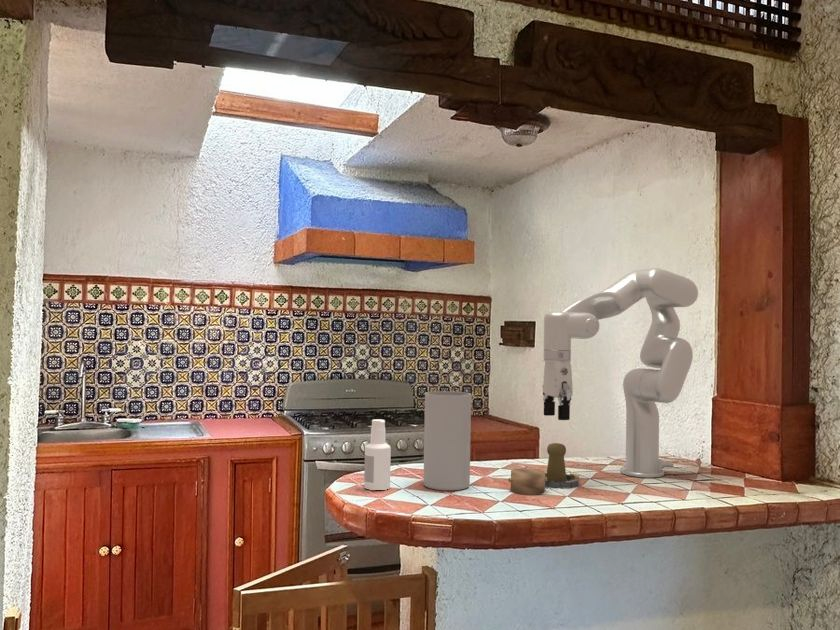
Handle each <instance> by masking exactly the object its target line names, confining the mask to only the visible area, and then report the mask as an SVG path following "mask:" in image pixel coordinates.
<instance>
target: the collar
mask: <svg viewBox="0 0 840 630" xmlns="http://www.w3.org/2000/svg"><path fill="white" fill-rule="evenodd" d="M546 473H547V472H545V477H546ZM566 479H567V481H549V480H547V481H545V488H550V487H551V488H552V489H572V488H577V487H579V486H580V475H578V474H577V473H575V472H574V473H569V474H567V473H566Z"/></svg>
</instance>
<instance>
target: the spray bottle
mask: <svg viewBox="0 0 840 630" xmlns="http://www.w3.org/2000/svg"><path fill="white" fill-rule="evenodd" d="M386 439H387V438H386V420H385V419H381V418H379V419H377V418H376V419H374V418H373V419H372V420H371V428H370V439H369V440H370V441H369V443H368V444H366V445H365V446H364V467H363V468H364V472H363V473H364V480H363V481H364V482H363V488H364V489H365V488H366V489H370V490H385V491H388V490H390V488H391V460H392V459H391V453H392V452H391V450H392V448H391V445H390V444H388V443H387V442H386ZM366 489H365V490H366ZM387 489H388V490H387ZM370 490H369V491H370Z"/></svg>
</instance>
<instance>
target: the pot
mask: <svg viewBox="0 0 840 630" xmlns="http://www.w3.org/2000/svg"><path fill="white" fill-rule="evenodd" d="M545 473H546V472H545V471H544V470H540V469H537V468H528V467H527V468H525V467H524V468H523V467H522V468H520V467H519V468H513V469H511V470H510V477H508V478H507V480H508V482H509V483H510V492H512V493H515V494H519V495H524V496H525V495H526V496H527V495H528V496H534V495H535V496H537V495H542V494H545V492H546V487H545V481H547V477H545Z"/></svg>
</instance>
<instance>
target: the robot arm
mask: <svg viewBox="0 0 840 630" xmlns="http://www.w3.org/2000/svg"><path fill="white" fill-rule="evenodd" d="M698 296H699V290H698V286H697V285H696V283H695V282H694V281H693V280H691V279H690V278H687V277H685V276H683V275H679V274H677V273H674V272H672V271H669V270H666V269H662V268H659V267H658V268H653V267H652V268H643V269H634V270H632V271H629V273H627V274H625V275H624V276H622V277H621V278H619V279H618V280H616V281H615V282H613V284H611V285H609V286H608V287H606V288H605V289H603V290H602V291H601V290H600V291H599V292H596V293H594V294H592V295H590V296H588V297H586V298H583V299H581V300H578V301H577V302H575V303H573V304H571V305H569V306H568V307H567V308H565V309H564V310H562V311H560V312H547V313H545V314H544V317H543V360H542V361H543V362H544V367H543V369H544V370H543V384H542V396H543V400H542V401H543V415H544V416H547V417H548V416H549V417H550V416H555V415H556V414H555V413H556V401H554V400H555V398H556V399H557V401H558V405H557V419H558V421H569V420H571V418H570V416H571V415H570V412H571V400H572V396H573V391H574V390H573V389H574V388H573V373H572V371H573V370H572V364H571V362H572V361H571V359H572V356H571V355H572V339H576V340H578V339H579V340H587V339H591V338H593V337H594V336H596V335H597V334H598V332H599V330H600V322H599V320H603V319H609V318H613V317H617V316H619V315H621V314H622V313H624V312H625V311H627V310H628V309H629V308H630V307H633V305H635V304H636V303H638V302H640V301H641V300H643V299H645V300H646V302H647V305H648V307H649V310H650V313H651V323H650V327H649V328H648V331H647V334H646V337H645V339H644V342H643V344H642V346H641V349H640V354H639V359H640V362H641V363H642V364H643V365H645V366H646V367H650V368H643V367H642V368H640V367H639V368H634V369H631V370H629V371H628V372H627V373H626V374H625V376H624V378H623V383H622V389H623V394H624V400H625V410H626V412H625V415H626V416H625V466H621V467H620V469H619V470H620V471H619V472H620V474H623V475H626V476H630V477H637V478H652V479H653V478H662V477H664V476H665V470H663V469H664V468H667V469H668V468H673V467H674V466H675V465H674V461H672V460H666V461H665V460H663V459H662V458H660V412H659V409H658V406H657V404H656V403H660V404H661V403H662V404H670V403H672V402H674V401H675V400H677V398H678V397H679V395H680V393H681V392H682V388H683V387H684V384H685V381H686V379H687V376H688V374H689V371H690V368H691V365H692V362H693V349H692V345H691V344H690V342H689V341H687V340H686V339H684V338H681V337H678V336H679V333H680V329H681V322H680V319H679V316H678V314H677V312H676V310H675V308H688V307H690V306H692V305H694V304H695V303H696V302H697V299H698V298H699V297H698Z"/></svg>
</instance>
